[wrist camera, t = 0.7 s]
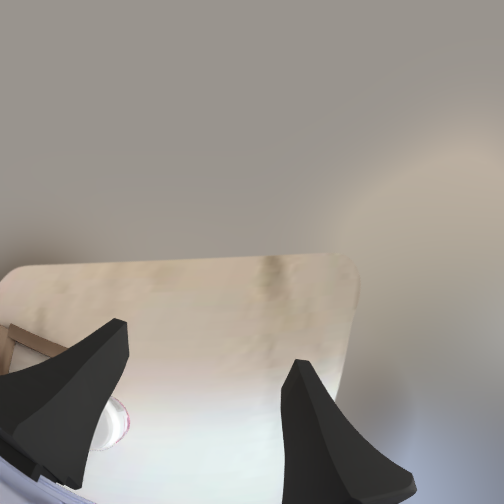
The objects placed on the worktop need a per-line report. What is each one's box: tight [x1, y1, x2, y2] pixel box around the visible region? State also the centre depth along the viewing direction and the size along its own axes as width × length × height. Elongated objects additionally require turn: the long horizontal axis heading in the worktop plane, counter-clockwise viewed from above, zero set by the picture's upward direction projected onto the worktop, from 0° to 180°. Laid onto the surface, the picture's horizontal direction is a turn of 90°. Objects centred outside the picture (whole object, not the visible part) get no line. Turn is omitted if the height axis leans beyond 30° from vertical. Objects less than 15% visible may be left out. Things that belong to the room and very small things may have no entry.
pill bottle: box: [89, 396, 130, 451], centre depth 15 cm, size 5×5×8 cm
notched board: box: [0, 324, 68, 375], centre depth 16 cm, size 11×10×2 cm
